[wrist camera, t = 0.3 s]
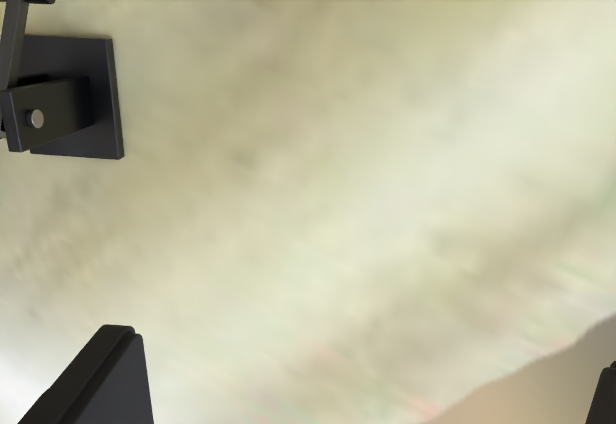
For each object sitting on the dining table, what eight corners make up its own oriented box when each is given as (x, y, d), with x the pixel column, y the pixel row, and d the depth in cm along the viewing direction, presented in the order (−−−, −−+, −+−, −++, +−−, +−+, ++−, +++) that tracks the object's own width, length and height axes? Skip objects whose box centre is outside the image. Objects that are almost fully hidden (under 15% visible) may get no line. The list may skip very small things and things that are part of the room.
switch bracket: (17, 33, 43) (-97, 36, 32) (112, 38, 42) (29, 43, 31) (37, 150, 47) (-58, 188, 36) (124, 156, 46) (54, 196, 36)
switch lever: (1, -10, 38) (-21, -29, 36) (60, -8, 38) (42, -26, 35) (-23, 136, 37) (-47, 127, 34) (39, 140, 36) (18, 131, 34)
